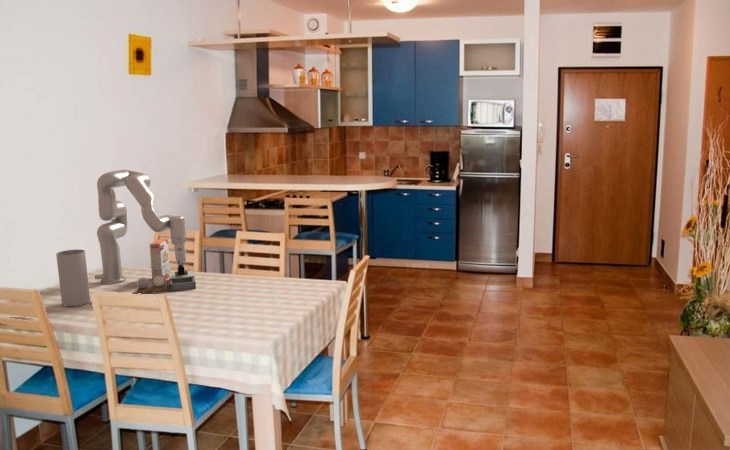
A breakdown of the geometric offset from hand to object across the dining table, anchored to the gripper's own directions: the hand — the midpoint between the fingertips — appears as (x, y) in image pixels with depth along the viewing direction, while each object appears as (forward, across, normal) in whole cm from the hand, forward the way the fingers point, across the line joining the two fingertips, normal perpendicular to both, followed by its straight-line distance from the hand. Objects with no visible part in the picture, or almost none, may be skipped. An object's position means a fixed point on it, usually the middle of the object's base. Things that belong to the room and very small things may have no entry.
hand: (181, 274), depth 357 cm
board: (+5, -7, +15) cm, 17 cm away
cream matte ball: (+1, -7, +12) cm, 13 cm away
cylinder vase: (+5, -16, +50) cm, 53 cm away
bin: (+5, 0, 0) cm, 5 cm away
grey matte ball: (+1, -7, +19) cm, 20 cm away
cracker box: (+5, +15, +10) cm, 19 cm away
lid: (+2, +4, 0) cm, 4 cm away
